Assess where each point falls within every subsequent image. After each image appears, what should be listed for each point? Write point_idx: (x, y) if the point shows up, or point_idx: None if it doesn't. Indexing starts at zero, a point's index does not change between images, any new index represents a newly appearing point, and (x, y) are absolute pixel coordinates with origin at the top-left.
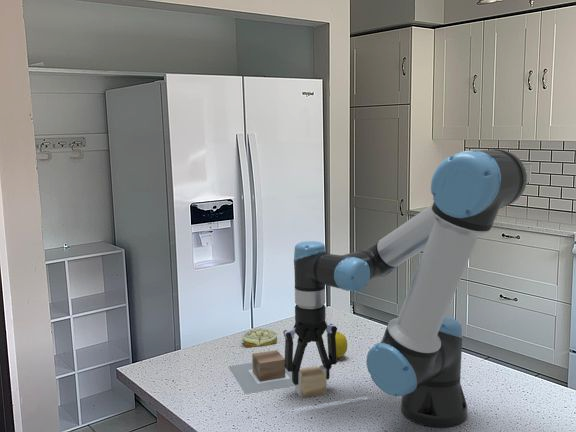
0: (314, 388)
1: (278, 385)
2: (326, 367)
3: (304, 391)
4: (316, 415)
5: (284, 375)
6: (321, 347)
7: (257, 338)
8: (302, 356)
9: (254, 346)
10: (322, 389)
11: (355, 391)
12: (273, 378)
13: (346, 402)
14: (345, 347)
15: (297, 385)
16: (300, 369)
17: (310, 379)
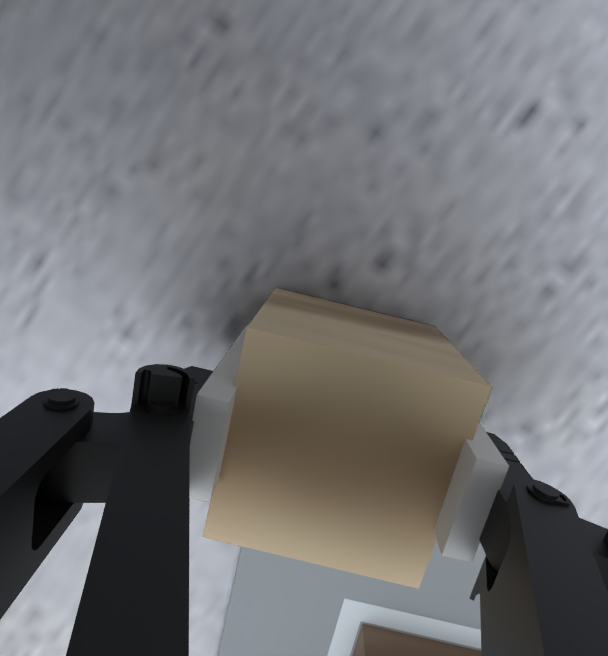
0: (364, 328)
1: (468, 563)
2: (190, 400)
3: (447, 345)
4: (480, 121)
5: (369, 638)
6: (151, 645)
7: None
8: (551, 620)
9: None
10: (298, 306)
11: (47, 261)
12: (442, 647)
13: (189, 163)
14: None
15: None
16: (380, 561)
17: (413, 363)
